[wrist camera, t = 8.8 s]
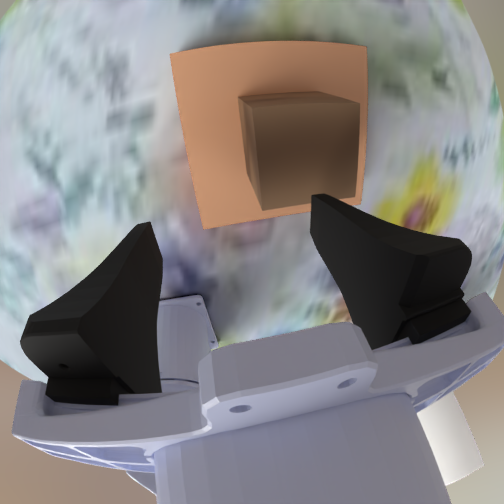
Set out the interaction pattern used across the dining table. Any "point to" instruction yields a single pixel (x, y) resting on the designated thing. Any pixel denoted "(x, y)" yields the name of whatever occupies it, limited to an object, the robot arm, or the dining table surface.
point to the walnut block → (300, 146)
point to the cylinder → (450, 439)
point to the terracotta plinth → (228, 117)
